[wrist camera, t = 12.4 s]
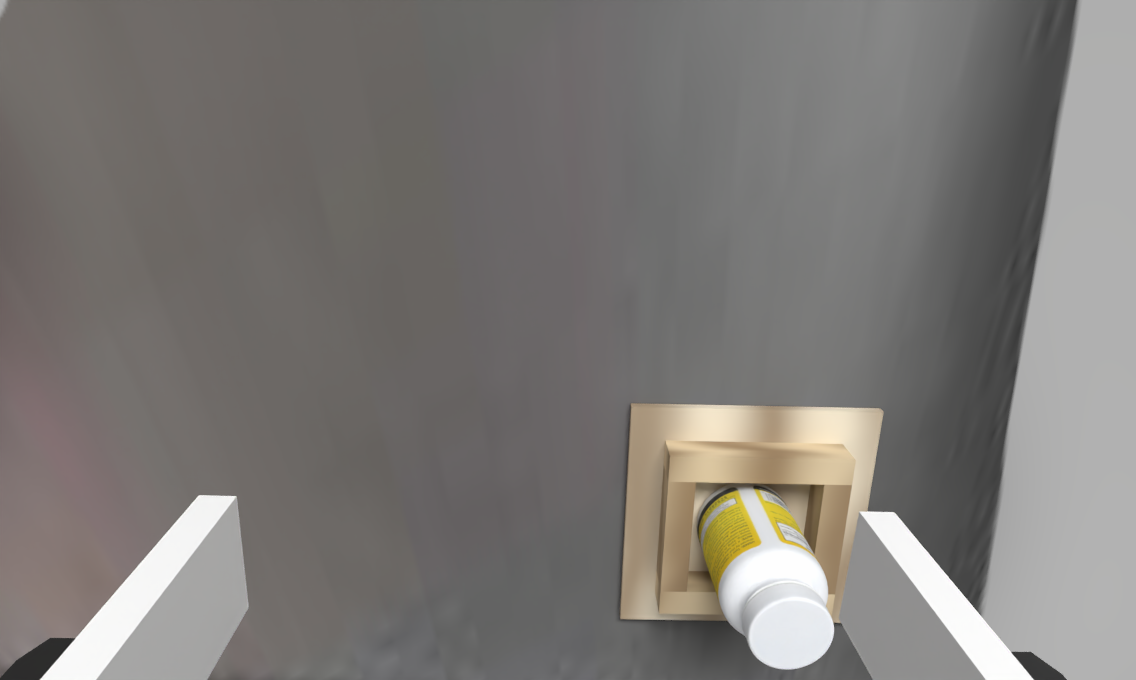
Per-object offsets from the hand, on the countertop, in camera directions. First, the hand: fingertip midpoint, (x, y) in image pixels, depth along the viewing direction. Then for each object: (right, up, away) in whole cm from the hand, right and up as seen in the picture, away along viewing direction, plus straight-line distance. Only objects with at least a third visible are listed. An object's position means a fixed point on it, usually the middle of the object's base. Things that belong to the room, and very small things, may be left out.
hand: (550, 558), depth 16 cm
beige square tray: (+11, -6, +28) cm, 30 cm away
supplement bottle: (+10, -6, +28) cm, 30 cm away
